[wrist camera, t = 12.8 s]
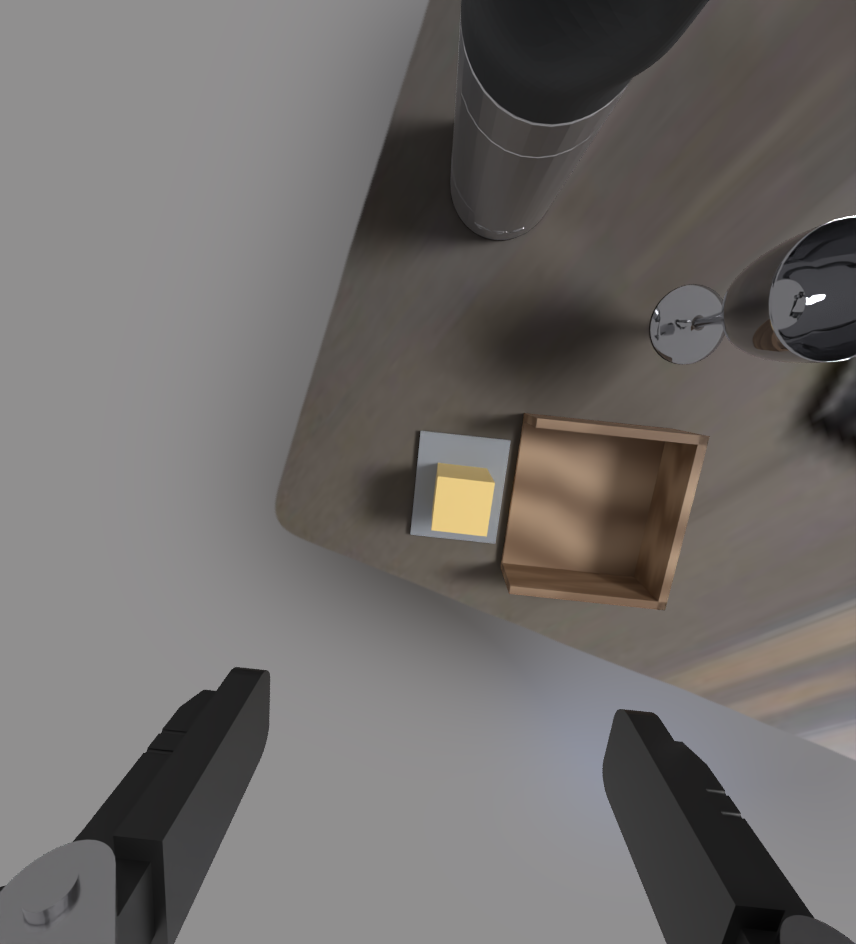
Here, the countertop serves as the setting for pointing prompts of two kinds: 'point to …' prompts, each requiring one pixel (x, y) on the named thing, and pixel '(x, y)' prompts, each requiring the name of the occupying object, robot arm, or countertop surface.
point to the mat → (458, 453)
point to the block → (462, 499)
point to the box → (599, 510)
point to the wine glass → (772, 304)
